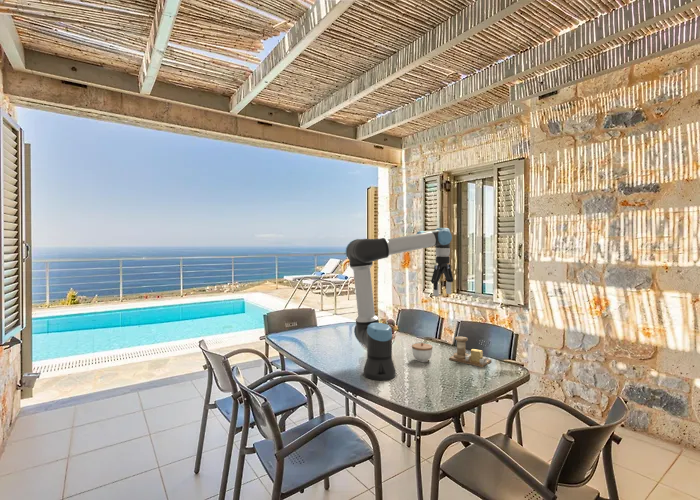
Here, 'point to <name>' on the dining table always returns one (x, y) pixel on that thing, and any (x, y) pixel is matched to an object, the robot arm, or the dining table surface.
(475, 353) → the tab
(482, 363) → the board
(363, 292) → the robot arm
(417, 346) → the lidded jar
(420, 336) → the dining table surface
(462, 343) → the bobbin
